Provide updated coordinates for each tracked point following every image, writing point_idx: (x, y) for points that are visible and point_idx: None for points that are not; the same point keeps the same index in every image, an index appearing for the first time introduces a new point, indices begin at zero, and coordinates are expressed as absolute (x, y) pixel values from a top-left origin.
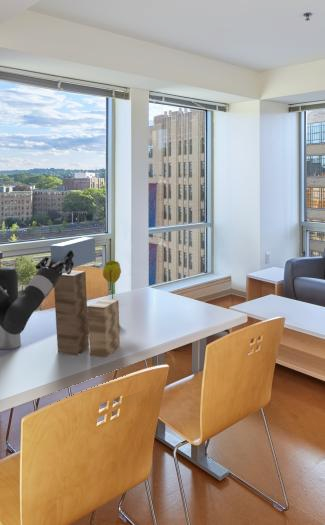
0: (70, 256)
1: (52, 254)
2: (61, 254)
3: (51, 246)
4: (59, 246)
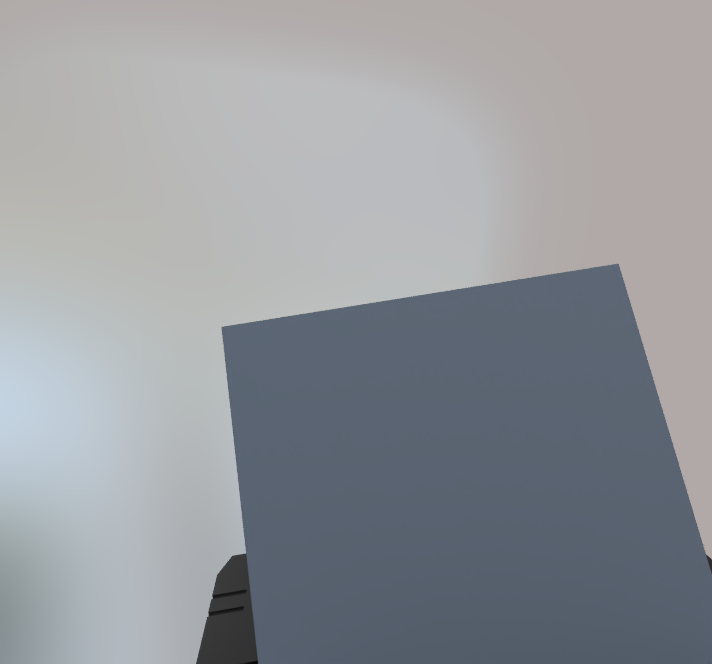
0: (710, 568)
1: (313, 597)
2: (647, 521)
3: (265, 349)
4: (533, 295)
